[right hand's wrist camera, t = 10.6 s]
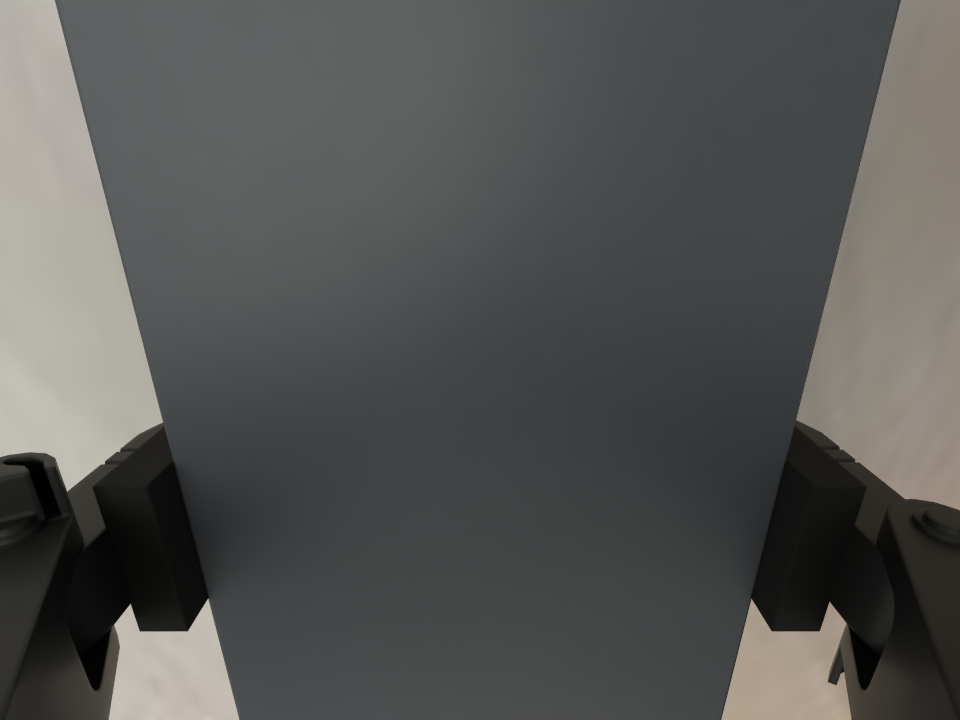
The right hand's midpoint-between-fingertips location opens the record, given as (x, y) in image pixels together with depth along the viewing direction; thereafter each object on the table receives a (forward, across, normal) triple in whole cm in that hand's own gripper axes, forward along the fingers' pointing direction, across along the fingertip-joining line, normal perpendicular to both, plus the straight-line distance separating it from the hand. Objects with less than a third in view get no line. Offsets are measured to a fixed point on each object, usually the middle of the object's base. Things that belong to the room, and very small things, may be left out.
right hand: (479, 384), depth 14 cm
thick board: (+1, 0, -29) cm, 29 cm away
